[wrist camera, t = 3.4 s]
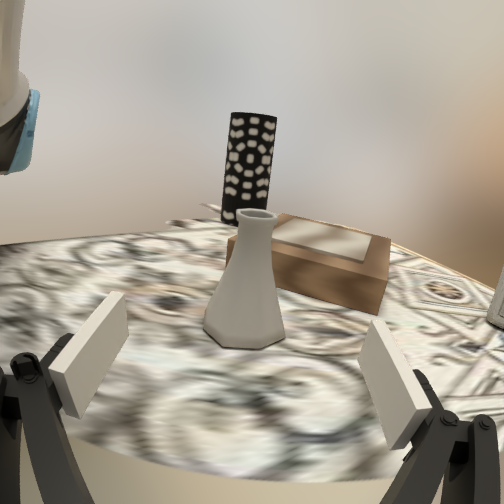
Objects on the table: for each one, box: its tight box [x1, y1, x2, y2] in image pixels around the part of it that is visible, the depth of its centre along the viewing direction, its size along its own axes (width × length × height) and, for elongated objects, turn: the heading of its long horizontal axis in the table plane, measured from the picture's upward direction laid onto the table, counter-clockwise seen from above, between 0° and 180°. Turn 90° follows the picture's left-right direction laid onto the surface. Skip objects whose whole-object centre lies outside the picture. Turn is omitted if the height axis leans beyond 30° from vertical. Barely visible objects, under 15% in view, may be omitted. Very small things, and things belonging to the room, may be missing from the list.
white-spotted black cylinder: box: [221, 112, 277, 226], centre depth 56 cm, size 8×8×20 cm
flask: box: [203, 208, 286, 349], centre depth 25 cm, size 7×7×10 cm
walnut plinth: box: [225, 214, 391, 315], centre depth 41 cm, size 18×18×4 cm
